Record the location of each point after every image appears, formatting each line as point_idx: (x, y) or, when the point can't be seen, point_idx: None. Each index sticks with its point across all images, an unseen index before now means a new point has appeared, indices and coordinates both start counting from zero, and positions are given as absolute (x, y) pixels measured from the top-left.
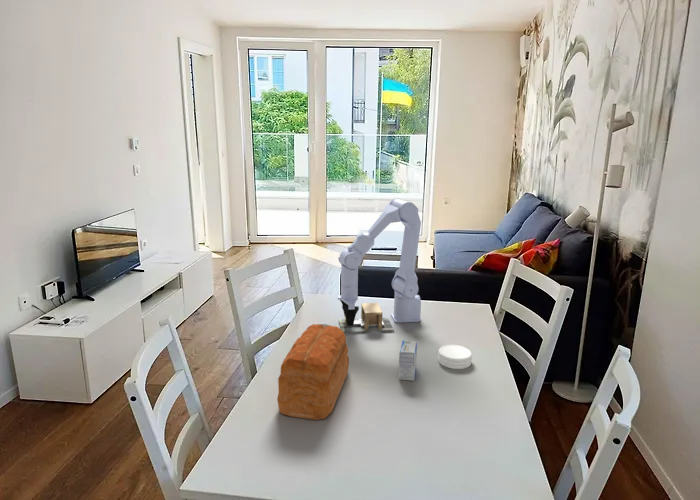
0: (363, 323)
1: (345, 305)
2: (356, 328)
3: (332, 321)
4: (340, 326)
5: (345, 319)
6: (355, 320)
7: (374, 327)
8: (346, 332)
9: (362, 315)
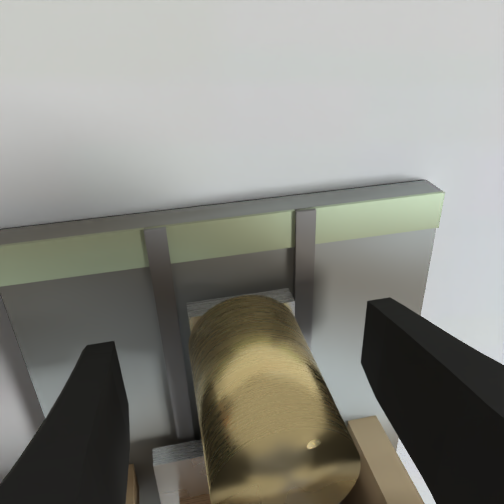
0: (205, 477)
1: (495, 469)
2: (129, 399)
3: (442, 91)
4: (211, 214)
5: (227, 341)
6: (361, 371)
7: None
8: (5, 297)
9: (371, 478)
